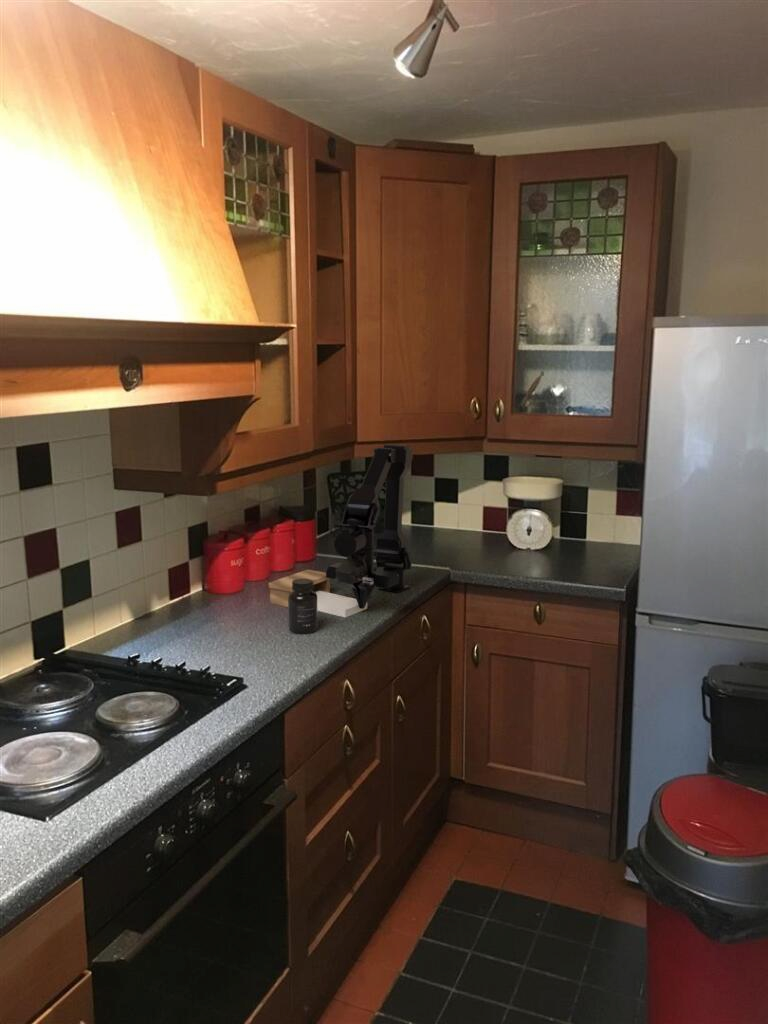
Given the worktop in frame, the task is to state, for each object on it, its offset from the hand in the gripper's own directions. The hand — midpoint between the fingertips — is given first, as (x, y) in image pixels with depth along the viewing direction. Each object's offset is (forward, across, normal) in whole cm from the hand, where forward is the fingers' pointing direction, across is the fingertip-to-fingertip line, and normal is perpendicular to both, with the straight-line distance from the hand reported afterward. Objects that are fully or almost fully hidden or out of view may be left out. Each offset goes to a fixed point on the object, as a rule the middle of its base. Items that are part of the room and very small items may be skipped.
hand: (361, 608), depth 216 cm
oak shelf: (+1, -20, 0) cm, 20 cm away
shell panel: (+2, -9, -1) cm, 9 cm away
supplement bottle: (+1, -4, -19) cm, 19 cm away
